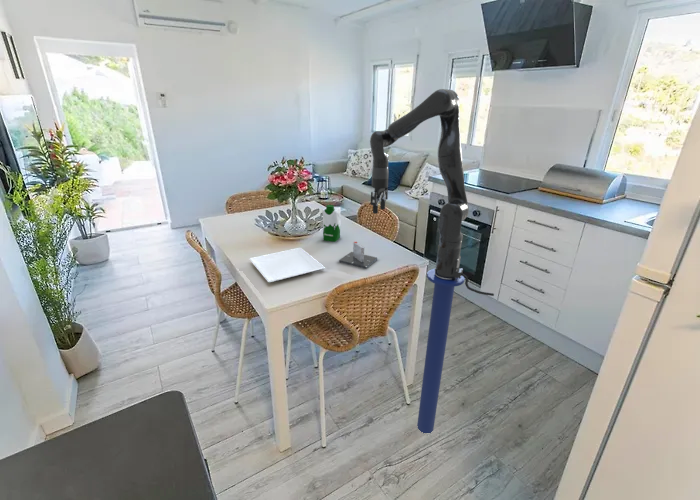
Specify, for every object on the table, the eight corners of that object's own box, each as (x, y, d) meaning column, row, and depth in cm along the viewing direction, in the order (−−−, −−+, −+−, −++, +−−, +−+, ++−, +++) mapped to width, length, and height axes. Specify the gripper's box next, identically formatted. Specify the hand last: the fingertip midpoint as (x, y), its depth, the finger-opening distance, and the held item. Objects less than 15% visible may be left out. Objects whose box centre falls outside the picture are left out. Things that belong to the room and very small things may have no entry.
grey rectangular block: (363, 261, 161) (364, 247, 158) (360, 262, 161) (361, 247, 158) (356, 255, 168) (356, 241, 165) (353, 255, 167) (353, 241, 164)
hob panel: (377, 260, 167) (377, 257, 166) (365, 269, 157) (365, 266, 156) (351, 254, 173) (351, 251, 172) (338, 263, 163) (338, 259, 162)
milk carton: (321, 241, 188) (320, 206, 180) (327, 236, 196) (327, 201, 188) (336, 244, 186) (336, 207, 178) (342, 238, 194) (342, 203, 186)
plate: (325, 271, 154) (325, 267, 153) (268, 286, 141) (268, 281, 140) (300, 250, 174) (300, 246, 173) (249, 262, 161) (248, 257, 160)
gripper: (381, 180, 152) (380, 216, 158) (393, 175, 163) (392, 208, 169) (365, 178, 155) (365, 213, 161) (378, 174, 167) (377, 207, 173)
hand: (379, 211), depth 165 cm, fingers open, 8 cm apart
